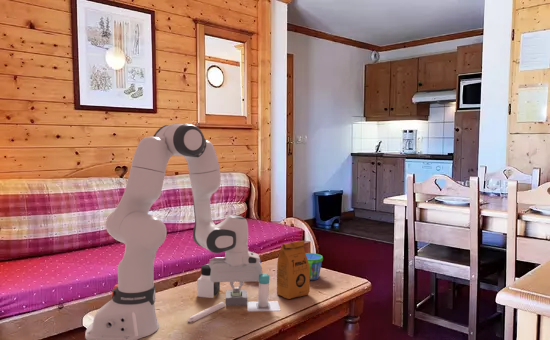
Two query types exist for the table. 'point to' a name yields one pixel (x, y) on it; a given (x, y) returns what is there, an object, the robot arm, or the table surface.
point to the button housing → (236, 298)
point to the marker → (206, 312)
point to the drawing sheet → (271, 307)
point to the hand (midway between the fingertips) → (236, 292)
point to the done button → (236, 294)
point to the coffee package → (293, 271)
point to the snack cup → (314, 265)
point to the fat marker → (263, 290)
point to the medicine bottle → (207, 284)
